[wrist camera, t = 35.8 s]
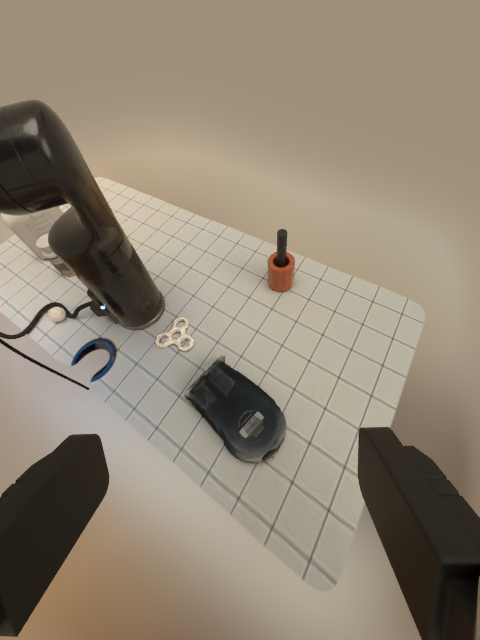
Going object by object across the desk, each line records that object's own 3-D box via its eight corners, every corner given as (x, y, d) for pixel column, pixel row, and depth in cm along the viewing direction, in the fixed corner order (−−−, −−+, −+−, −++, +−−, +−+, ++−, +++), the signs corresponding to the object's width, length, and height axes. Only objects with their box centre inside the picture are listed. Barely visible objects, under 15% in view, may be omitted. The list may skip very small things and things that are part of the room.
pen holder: (269, 293, 53) (268, 272, 47) (267, 274, 55) (267, 252, 50) (293, 291, 52) (296, 270, 47) (291, 272, 55) (293, 250, 49)
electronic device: (186, 407, 45) (255, 480, 37) (176, 391, 41) (251, 469, 33) (228, 369, 48) (298, 427, 41) (223, 351, 44) (300, 411, 36)
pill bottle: (72, 257, 63) (46, 228, 56) (87, 263, 62) (62, 234, 55) (57, 272, 61) (28, 244, 54) (72, 279, 60) (44, 251, 53)
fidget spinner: (154, 347, 49) (152, 345, 48) (166, 316, 52) (164, 313, 52) (191, 352, 48) (190, 351, 47) (201, 320, 51) (200, 318, 50)
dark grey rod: (277, 284, 53) (277, 236, 43) (276, 278, 54) (276, 229, 43) (285, 284, 53) (287, 235, 42) (284, 277, 53) (286, 228, 43)
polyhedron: (51, 320, 55) (41, 312, 52) (64, 309, 56) (54, 301, 53) (59, 327, 54) (48, 319, 51) (72, 316, 55) (62, 308, 52)
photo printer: (78, 232, 68) (42, 185, 57) (84, 241, 66) (47, 194, 55) (37, 252, 65) (-8, 207, 55) (42, 263, 63) (-5, 218, 53)
